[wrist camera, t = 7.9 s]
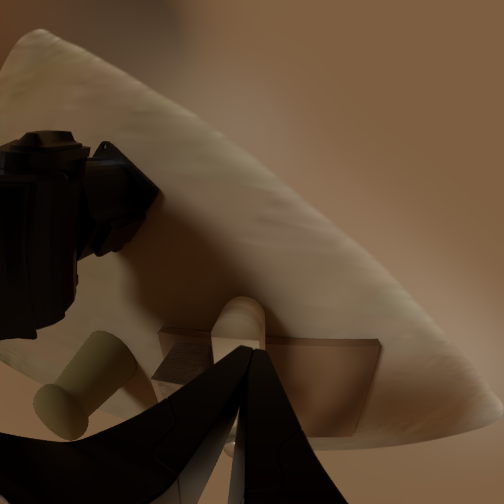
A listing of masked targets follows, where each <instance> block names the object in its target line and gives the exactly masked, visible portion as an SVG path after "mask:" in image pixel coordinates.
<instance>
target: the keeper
mask: <svg viewBox="0 0 504 504" xmlns="http://www.w3.org/2000/svg"><path fill="white" fill-rule="evenodd" d="M212 365H214V361H213V355H212V348H211V345H203V344H193V343H183V342H175V344H174V345H173V347H172V348H171V350H170V351H169V353H168V354H167V355H166V357H165V358H164V360H163V361H162V363H161V364H160V366H159V367H158V369H157V370H156V372H155V373H154V375H153V376H152V378H151V382H152V385H153V388H154V391H155V394H156V397H157V400H158V403H159V402H160V401H162V400H163V399H165V398H168V396H169V395H171V394H172V393H174V392H175V391H177V390H178V389H180V388H181V387H183V386H184V385H185V384H187V383H188V382H190V381H191V380H193V379H194V378H195V377H197V376H198V375H200V374H201V373H202V372H204V371H205V370H207V369H208V368H209V367H211V366H212ZM238 413H239V411H238ZM237 419H238V415H237V417H236V420H237ZM235 436H236V435H231V436H229V437H228V438H227V441H226V443H225V446H224V452H225V453H226V454H227V455H228V456H230V457H232V458H233V453H234V444H235Z"/></svg>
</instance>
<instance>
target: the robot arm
mask: <svg viewBox="0 0 504 504" xmlns="http://www.w3.org/2000/svg"><path fill="white" fill-rule="evenodd" d="M105 145H106V150H105V149H104V147H105ZM90 148H91V147H86V146H82V143H78V142H76V141H75V140H74V138H73V136H72V133H71V132H69V131H51V130H44V131H35V132H27V133H26V134H25V135H24V136H23V137H22V138H20V139H19V140H14V141H12V142H9V143H7V144H5V145H2V146H0V341H1V340H5V339H15V338H21V339H32V340H34V339H36V338H37V332H36V330H39V329H42V328H45V327H48V326H51V325H54V324H55V323H57V322H59V321H60V320H62V319H63V318H64V317H65V311H67V309H68V308H69V307H70V306H71V304H72V303H73V302H74V300H75V295H76V286H77V285H78V275H77V261H79V260H81V259H83V258H85V257H87V256H89V255H91V254H93V253H94V254H95V255H96V256H97V257H101V256H103V255H105V254H107V253H109V252H111V251H113V252H118V251H120V250H121V249H122V247H123V245H124V244H126V243H128V242H130V241H131V239H132V238H133V236H134V235H135V234H136V232H137V231H138V229H139V228H140V226H141V225H142V223H143V222H144V220H145V219H146V214H145V213H146V211H147V210H148V208H149V207H150V206H151V204H152V203H153V201H154V200H155V199H156V197H157V196H158V188H157V187H156V186H155V185H154V184H153V183H152V182H151V181H150V180H149V179H148V178H147V177H146V176H145V175H144V174H143V173H142V172H141V171H139V170H138V169H137V168H136V167H135V166H134V165H133V164H132V163H131V162H130V161H129V160H128V159H127V158H126V157H125V156H124V155H123V154H122V153H121V152H120V151H119V150H118V149H117V148H115V147H114V146H113V145H112V144H111V143H110V142H109V141H103V142H101V144H100V145H99V147H98V148H97V150H96V152H95V154H94V155H93V157H91V158H87V157H89V154H90ZM150 189H152V191H153V194H152V195H151V194H150V192H149V191H150ZM238 411H239V413H238ZM237 415H238V419H237V427H236V436H235V444H234V453H233V462H232V471H231V479H230V488H229V497H228V504H348V503H347V501H346V500H345V498H344V497H343V496H342V494H341V493H340V491H339V490H338V488H337V487H336V486H335V484H334V483H333V481H332V480H331V478H330V477H329V476H328V474H327V472H326V471H325V470H324V468H323V466H322V465H321V463H320V462H319V460H318V458H317V457H316V455H315V453H314V451H313V449H312V448H311V446H310V444H309V442H308V440H307V437H306V435H305V433H304V431H303V430H302V427H301V425H300V422H299V420H298V418H297V416H296V414H295V411H294V409H293V407H292V405H291V402H290V400H289V398H288V396H287V393H286V391H285V389H284V387H283V384H282V382H281V380H280V378H279V375H278V373H277V371H276V368H275V366H274V364H273V362H272V359H271V357H270V355H269V352H268V351H267V350H262V349H257V348H255V349H254V350H253V348H252V347H248V346H244V345H239V346H238V347H236V348H235V349H234V350H233V351H231V352H230V353H228V354H227V355H226V356H224V357H223V358H222V359H220V360H219V361H218V362H216V363H215V364H214V365H212V366H211V367H209V368H208V369H207V370H205V371H204V372H202V373H201V374H200V375H198V376H197V377H195V378H194V379H193V380H191V381H190V382H188V383H187V384H185V385H184V386H183V387H181V388H180V389H178V390H177V391H175V392H174V393H172V394H171V395H169V396H168V398H165V399H163V400H162V401H160V402H159V403H157V404H156V405H154V406H152V407H151V408H149V409H147V410H146V411H144V412H142V413H140V414H139V415H137V416H135V417H133V418H131V419H129V420H126V421H124V422H122V423H120V424H118V425H115V426H113V427H111V428H109V429H106V430H104V431H101V432H99V433H97V434H94V435H92V436H89V437H87V438H84V439H81V440H77V441H71V442H56V441H47V440H40V439H33V438H27V437H21V436H16V435H10V434H5V433H1V432H0V504H197V503H198V501H199V498H200V496H201V494H202V492H203V490H204V488H205V486H206V484H207V482H208V480H209V477H210V475H211V473H212V471H213V469H214V467H215V465H216V463H217V461H218V458H219V456H220V454H221V452H222V449H223V447H224V445H225V443H226V441H227V438H228V436H229V434H230V432H231V429H232V427H233V425H234V422H235V420H236V417H237Z"/></svg>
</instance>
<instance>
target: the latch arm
mask: <svg viewBox="0 0 504 504" xmlns="http://www.w3.org/2000/svg"><path fill="white" fill-rule="evenodd" d="M211 339H212V348H213V357H214V364H215V363H216V362H218V361H219V360H220V359H222V358H223V357H224V356H226V355H227V354H228V353H230V352H231V351H233V350H234V349H235V348H236V347H238V346H239V345H244V346H248V347H252V348H253V350H254V349H255V348H257V349H262V350H265V312H264V310H263V308H262V306H261V305H260V304H259V303H258V302H257V301H255V300H254V299H252V298H249V297H244V296H239V297H235V298H232V299H231V300H229V301H228V302H227V303H226V304H225V306H224V308H223V310H222V312H221V314H220V316H219V317H218V319H217V321H216V323H215V325H214V327H213V329H212V332H211ZM236 427H237V420H235V422H234V425H233V427H232V429H231V432H230V434H229V436H231V435H236ZM229 436H228V437H229ZM224 446H225V445H224Z"/></svg>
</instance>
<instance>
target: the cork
mask: <svg viewBox="0 0 504 504" xmlns="http://www.w3.org/2000/svg"><path fill="white" fill-rule="evenodd" d="M135 371H136V362H135V360H134V357H133V355H132V353H131V352H130V350H129V349H128V347H127V346H126V345H125V344H124V343H123V342H122V341H121V340H120V339H118V338H117V337H115V336H114V335H113V334H110V333H108V332H105V331H96V332H93V333H92V334H91V335H90V337H89V338H88V339H87V341H86V342H85V343H84V344H83V346H82V347H81V348H80V350H79V351H78V352H77V354H76V355H75V356H74V358H73V359H72V360H71V362H70V363H69V364H68V366H67V367H66V368H65V370H64V371H63V372H62V374H61V375H60V376H59V378H58V379H57V381H56V382H55V383H54V384H47V385H45V386H43V387H41V388H40V389H39V390H38V391H37V393H36V395H35V397H34V400H33V406H34V409H35V412H36V414H37V415H38V417H39V418H40V420H41V421H42V422H43V423H44V425H45V426H46V427H47V428H49V429H50V430H51V431H52V432H53V433H54V434H56V435H57V436H59V437H61V438H63V439H66V440H70V441H72V440H76V439H78V438H79V437H81V436H82V435H83V434H84V433H85V431H86V430H87V427H88V417H89V416H90V415H91V414H92V413H93V412H94V411H95V410H96V409H97V408H99V407H100V406H101V405H102V404H103V403H104V402H105V401H106V400H107V399H108V398H109V397H110V396H112V395H113V394H114V393H115V392H116V391H117V390H118V389H119V388H120V387H121V386H122V385H123V384H125V383H126V382H127V381H128V380H129V379H130V378H131V377H132V376H133V375H134V374H135Z"/></svg>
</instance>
